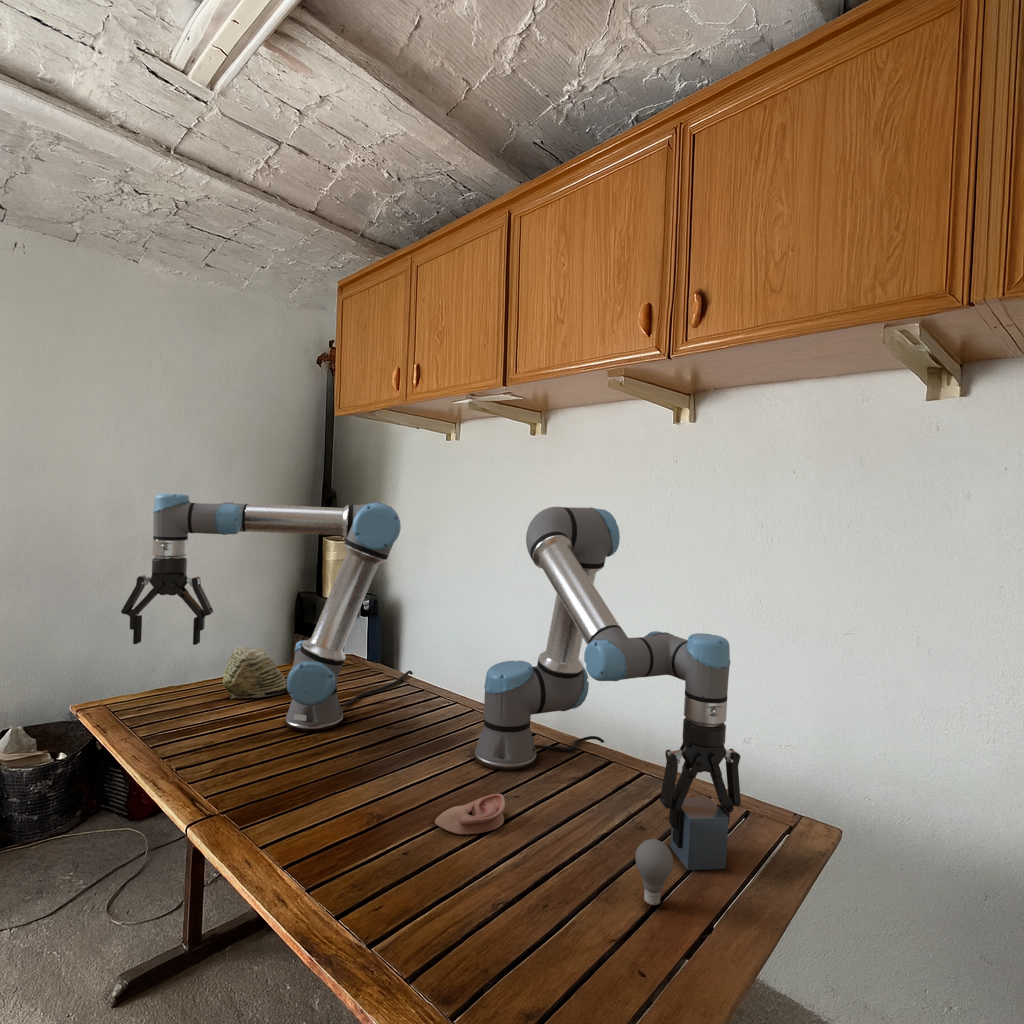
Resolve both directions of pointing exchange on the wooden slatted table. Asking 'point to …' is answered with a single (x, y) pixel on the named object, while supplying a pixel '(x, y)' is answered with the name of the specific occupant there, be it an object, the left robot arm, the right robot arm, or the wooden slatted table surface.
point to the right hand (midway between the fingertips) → (698, 842)
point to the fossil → (252, 674)
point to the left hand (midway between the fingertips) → (166, 643)
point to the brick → (702, 835)
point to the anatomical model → (474, 816)
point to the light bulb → (653, 868)
